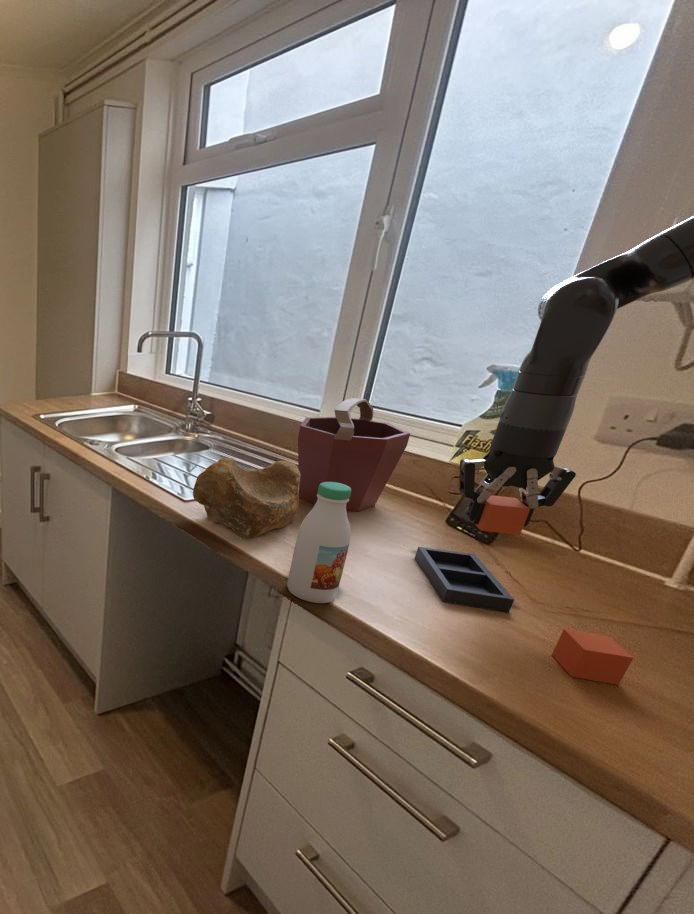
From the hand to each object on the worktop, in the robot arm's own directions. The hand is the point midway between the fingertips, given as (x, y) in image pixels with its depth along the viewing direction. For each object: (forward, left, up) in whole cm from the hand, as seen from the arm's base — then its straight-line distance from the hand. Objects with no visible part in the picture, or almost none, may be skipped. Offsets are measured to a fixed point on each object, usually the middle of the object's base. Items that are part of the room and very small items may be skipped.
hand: (494, 524), depth 85 cm
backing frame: (0, -5, -14) cm, 15 cm away
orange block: (-8, +17, -14) cm, 23 cm away
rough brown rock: (+35, -17, -14) cm, 41 cm away
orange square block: (0, 0, 0) cm, 0 cm away
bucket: (+15, -44, -14) cm, 49 cm away
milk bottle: (+25, +8, -14) cm, 30 cm away
